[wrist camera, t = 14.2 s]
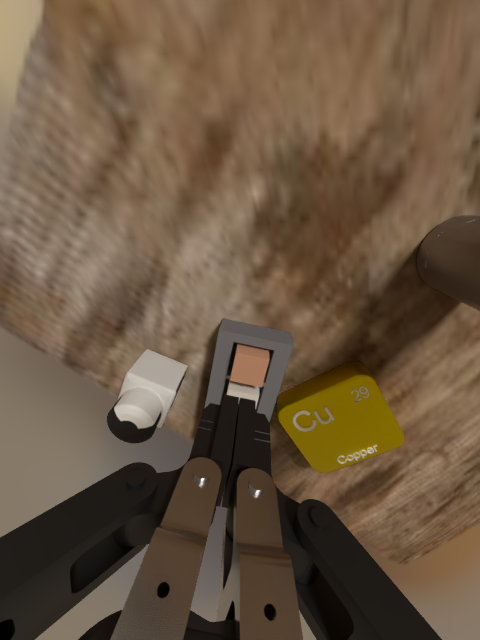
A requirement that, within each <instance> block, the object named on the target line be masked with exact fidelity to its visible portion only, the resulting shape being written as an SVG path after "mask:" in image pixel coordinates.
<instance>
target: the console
mask: <svg viewBox="0 0 480 640" xmlns="http://www.w3.org/2000/svg"><path fill="white" fill-rule="evenodd" d="M238 343H241V344H246V345H251V346H256V347H260V348H265V349H269V359H270V360H269V363H268V367H267V371H266V374H265V378H264V381H263V385H262V387H259V399H258V402H257V406H256V410H255V412H256V413H260V414H265V416H266V418H267V419H268V421H269V422H270V419H271V416H272V413H273V409H274V406H275V403H276V400H277V396H278V393H279V390H280V387H281V383H282V380H283V377H284V374H285V370H286V367H287V364H288V361H289V357H290V354H291V351H292V348H293V343H292V338H291V333H289V332H284V331H280V330H275V329H270V328H265V327H261V326H256V325H251V324H247V323H242V322H237V321H232V320H228V319H223V320H222V323H221V326H220V328H219V332H218V338H217V343H216V349H215V354H214V360H213V365H212V370H211V376H210V381H209V387H208V392H207V397H206V403H205V408H206V407H207V406H208V405H209V404H210V403H213V404H217V405H222V401H223V396H224V394H227V389H228V385H229V380H230V377H231V372H232V367H233V362H234V357H235V353H236V348H237V344H238ZM205 408H204V409H205Z"/></svg>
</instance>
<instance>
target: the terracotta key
mask: <svg viewBox="0 0 480 640" xmlns="http://www.w3.org/2000/svg"><path fill="white" fill-rule="evenodd" d="M269 360H270V359H269V349H265V348H260V347H256V346H251V345H246V344H241V343H238V344H237V348H236V353H235V357H234V362H233V367H232V372H231V377H230V381H234V382H238V383H243V384H248V385H253V386H257V387H262V385H263V381H264V378H265V374H266V371H267V367H268V363H269Z"/></svg>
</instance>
